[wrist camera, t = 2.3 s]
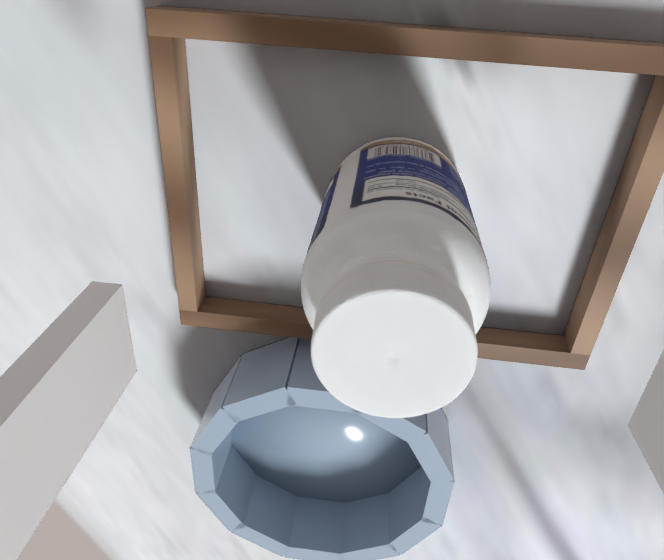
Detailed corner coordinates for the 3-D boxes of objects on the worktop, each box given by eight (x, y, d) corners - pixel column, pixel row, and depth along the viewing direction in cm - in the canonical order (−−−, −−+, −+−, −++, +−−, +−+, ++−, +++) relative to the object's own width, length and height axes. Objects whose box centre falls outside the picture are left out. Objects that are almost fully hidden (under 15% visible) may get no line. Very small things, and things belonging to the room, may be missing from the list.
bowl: (207, 323, 25) (181, 374, 22) (464, 352, 24) (473, 408, 21) (220, 488, 31) (201, 545, 28) (425, 515, 30) (428, 577, 27)
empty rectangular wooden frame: (159, 5, 18) (145, 8, 17) (692, 45, 17) (711, 50, 16) (190, 309, 25) (181, 324, 24) (576, 352, 24) (584, 370, 23)
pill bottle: (385, 283, 23) (377, 467, 15) (299, 193, 21) (235, 343, 13) (493, 209, 21) (557, 377, 12) (406, 102, 19) (414, 211, 11)
